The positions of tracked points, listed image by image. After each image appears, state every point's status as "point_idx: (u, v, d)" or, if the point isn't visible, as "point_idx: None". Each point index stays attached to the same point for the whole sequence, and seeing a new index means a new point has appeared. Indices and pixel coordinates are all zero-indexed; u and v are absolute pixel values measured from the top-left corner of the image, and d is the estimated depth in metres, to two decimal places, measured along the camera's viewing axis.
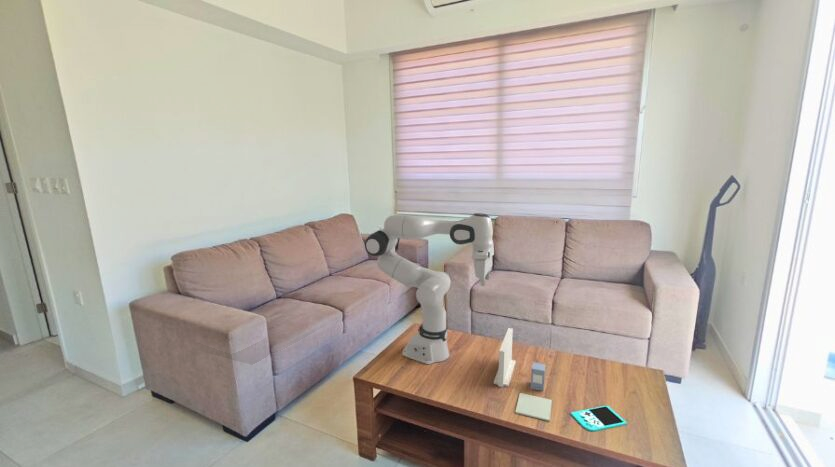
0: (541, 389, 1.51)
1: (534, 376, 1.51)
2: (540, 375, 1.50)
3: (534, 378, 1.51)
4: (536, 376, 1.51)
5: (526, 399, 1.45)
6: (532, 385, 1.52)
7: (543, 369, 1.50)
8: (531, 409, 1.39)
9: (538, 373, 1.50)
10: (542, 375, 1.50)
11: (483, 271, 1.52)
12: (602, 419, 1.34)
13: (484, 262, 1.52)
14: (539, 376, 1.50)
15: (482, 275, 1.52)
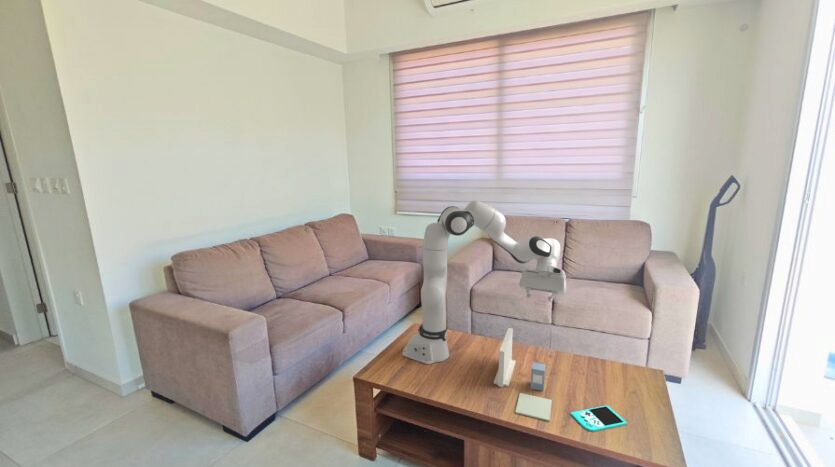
0: (541, 389, 1.51)
1: (534, 376, 1.51)
2: (540, 375, 1.50)
3: (534, 378, 1.51)
4: (536, 376, 1.51)
5: (526, 399, 1.45)
6: (532, 385, 1.52)
7: (543, 369, 1.50)
8: (531, 409, 1.39)
9: (539, 373, 1.50)
10: (542, 375, 1.50)
11: None
12: (602, 419, 1.34)
13: None
14: (539, 376, 1.50)
15: (565, 291, 1.62)
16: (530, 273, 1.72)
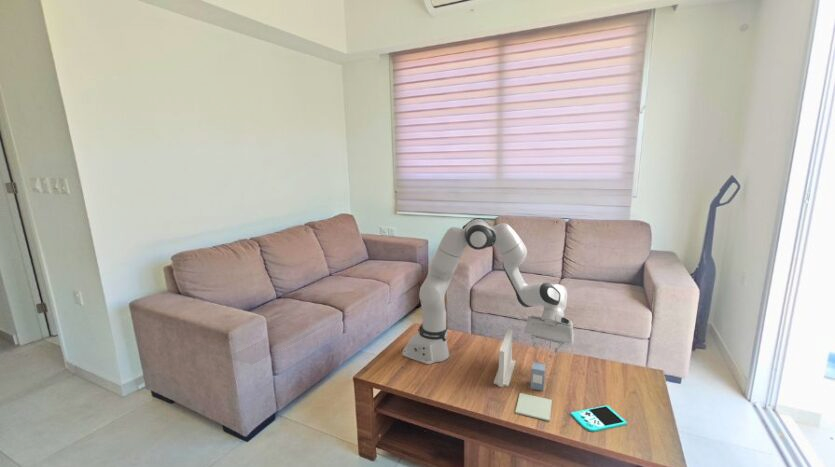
0: (541, 389, 1.51)
1: (534, 376, 1.51)
2: (540, 375, 1.50)
3: (534, 378, 1.51)
4: (536, 376, 1.51)
5: (526, 399, 1.45)
6: (532, 385, 1.52)
7: (543, 369, 1.50)
8: (531, 409, 1.39)
9: (539, 373, 1.50)
10: (542, 375, 1.50)
11: None
12: (602, 419, 1.34)
13: None
14: (539, 376, 1.50)
15: (572, 343, 1.57)
16: (536, 320, 1.66)
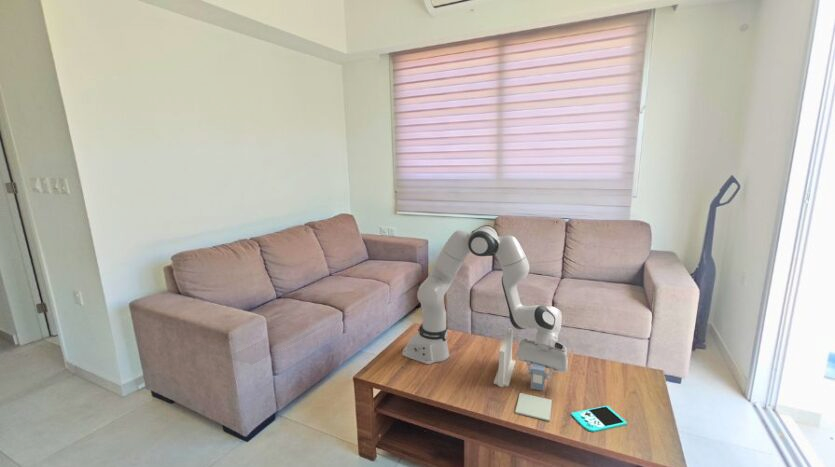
0: (541, 389, 1.51)
1: (534, 376, 1.51)
2: (540, 375, 1.50)
3: (534, 378, 1.51)
4: (536, 376, 1.51)
5: (526, 399, 1.45)
6: (532, 385, 1.52)
7: (543, 369, 1.50)
8: (531, 409, 1.39)
9: (539, 373, 1.50)
10: (542, 375, 1.50)
11: (567, 366, 1.52)
12: (602, 419, 1.34)
13: None
14: (539, 376, 1.50)
15: (566, 370, 1.51)
16: (529, 344, 1.59)
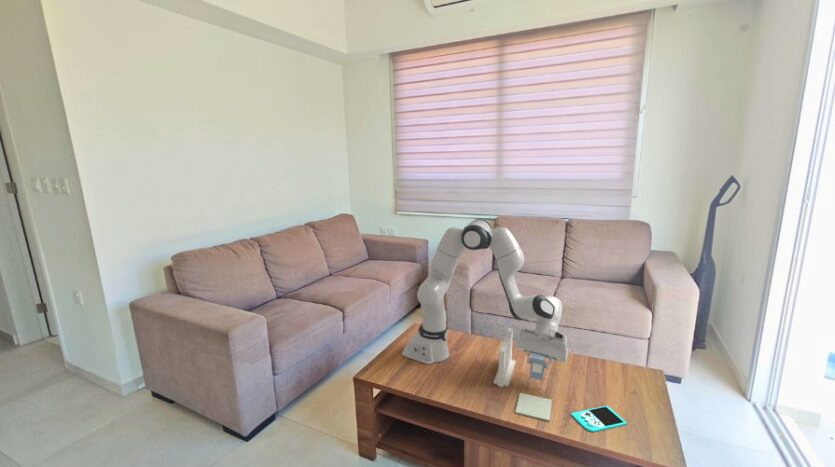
0: (540, 378, 1.50)
1: (534, 365, 1.50)
2: (540, 364, 1.49)
3: (534, 367, 1.50)
4: (536, 365, 1.50)
5: (526, 399, 1.45)
6: (531, 374, 1.51)
7: (543, 358, 1.49)
8: (531, 409, 1.39)
9: (538, 363, 1.49)
10: (542, 364, 1.49)
11: None
12: (602, 419, 1.34)
13: None
14: (539, 365, 1.49)
15: (566, 359, 1.50)
16: (529, 334, 1.59)
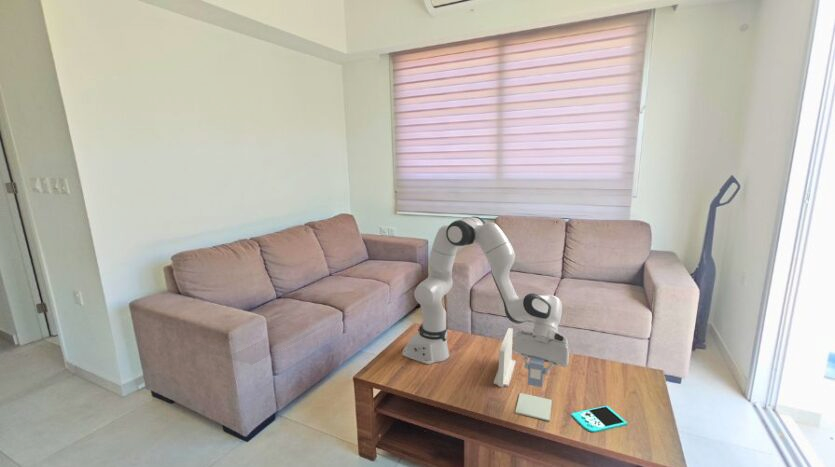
0: (539, 385, 1.36)
1: (532, 371, 1.36)
2: (538, 370, 1.35)
3: (532, 373, 1.36)
4: (534, 371, 1.36)
5: (526, 399, 1.45)
6: (529, 381, 1.38)
7: (542, 363, 1.35)
8: (531, 409, 1.39)
9: (537, 368, 1.35)
10: (541, 369, 1.35)
11: (568, 360, 1.37)
12: (603, 419, 1.33)
13: None
14: (537, 371, 1.35)
15: (567, 364, 1.36)
16: (526, 336, 1.45)
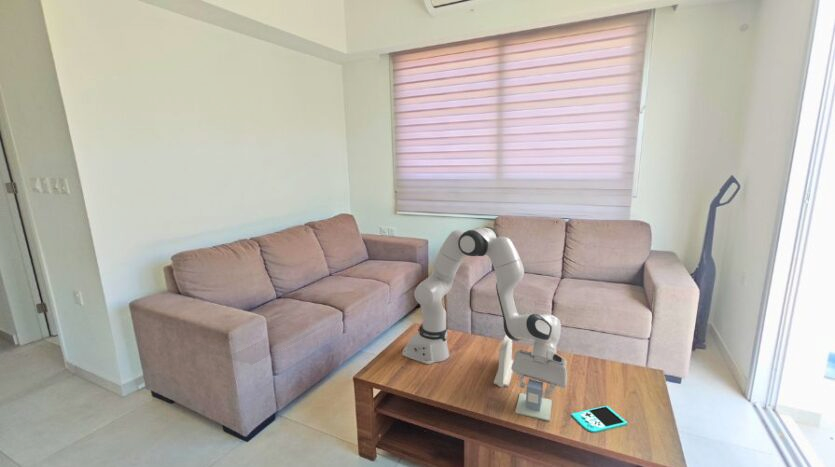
0: (537, 409, 1.38)
1: (529, 395, 1.38)
2: (536, 394, 1.37)
3: (529, 397, 1.38)
4: (532, 395, 1.38)
5: None
6: (527, 404, 1.40)
7: (539, 387, 1.37)
8: (531, 409, 1.39)
9: (534, 392, 1.38)
10: (538, 394, 1.37)
11: (566, 380, 1.39)
12: (603, 420, 1.33)
13: None
14: (535, 395, 1.37)
15: None
16: (525, 356, 1.46)
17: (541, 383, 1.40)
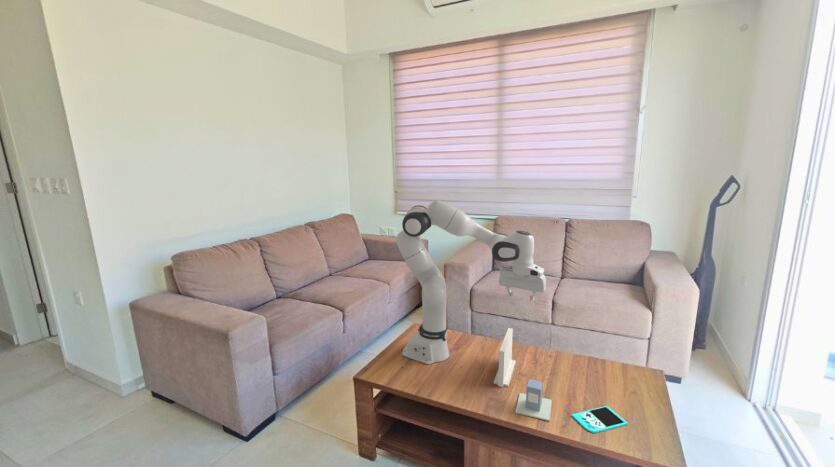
0: (537, 409, 1.38)
1: (529, 395, 1.38)
2: (536, 394, 1.37)
3: (529, 397, 1.38)
4: (532, 395, 1.38)
5: None
6: (527, 404, 1.40)
7: (539, 387, 1.37)
8: (531, 409, 1.39)
9: (534, 392, 1.38)
10: (538, 394, 1.37)
11: (545, 284, 1.60)
12: (603, 420, 1.33)
13: (544, 276, 1.61)
14: (535, 395, 1.37)
15: (545, 288, 1.60)
16: (507, 272, 1.65)
17: (541, 383, 1.40)
